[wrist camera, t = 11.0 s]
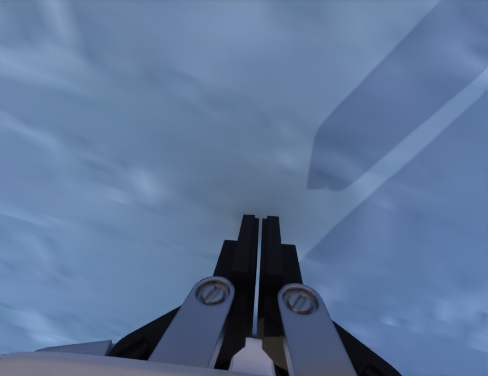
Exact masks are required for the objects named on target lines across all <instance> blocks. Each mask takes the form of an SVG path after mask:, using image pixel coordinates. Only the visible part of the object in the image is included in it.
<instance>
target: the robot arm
mask: <svg viewBox="0 0 488 376" xmlns="http://www.w3.org/2000/svg"><path fill="white" fill-rule="evenodd" d="M258 230H259V218H255V215H246V214H244V215H243V219H242V223H241V228H240V232H239V237H238V241H235V240H225V241H224V243H223V246H222V250H221V253H220V256H219V259H218V262H217V265H216V268H215V271H214V274H213V276H211V277H207V278H204V279H202V280H200V281H199V282H197V283H196V284H195V286H194V287H193V288H192V290H191V291H190V293H189V295H188V296H187V298H186V299H185V301H184V303H183V304H182V305H181V306H179V307H178V308H176V309H174V310H172V311H170V312H169V313H167V314H165V315H163V316H161V317H159V318H158V319H156V320H154V321H152V322H150V323H148V324H147V325H145V326H143V327H141V328H139V329H138V330H136V331H134V332H132V333H130V334H128V335H127V336H125V337H124V338H122V339H121V340H119V341H118V342H117V343H115V344H112V341H111V340H106V341H98V342H89V343H81V344H72V345H63V346H55V347H47V348H43V349H39V350H36V351H34V352H16V353H9V354H2V355H0V376H267V375H259V374H251V373H243V372H235V371H231V370H232V367H233V363H234V355H235V354H237V353H238V352H239V351H240V350H242V349H243V348H244V347H245V345H246V337H248V338H252V327H253V313H254V299H255V285H256V271H257V251H258ZM256 338H257V339H262V350H263V351H264V352H265V353H266V354H267V355H268V356H269V358H270V359H271V360H272V374H273V376H402V375H401V374H400V373H399V372H398V371H397V370H396V369H394V368H393V367H392V366H391V365H390V364H389V363H387V362H386V361H385V360H383V359H382V358H381V357H379V356H378V355H377V354H376V353H374V352H373V351H372V350H370V349H369V348H368V347H366V346H365V345H364V344H363V343H361V342H360V341H359V340H357V339H356V338H355V337H353V336H352V335H351V334H350V333H348V332H347V331H346V330H344V329H343V328H342V327H340V326H339V325H338V324H336V323H335V322H334V321H333V320H331V317H330V315H329V313H328V311H327V309H326V307H325V304H324V302H323V300H322V298H321V297H320V295H319V294H318V293H317V292H316V291H315V290H314V289H312V288H310V287H309V286H307V285H303V282H302V277H301V272H300V267H299V262H298V257H297V251H296V247H295V245H289V244H281V236H280V225H279V217H277V216H267V219H263V221H262V240H261V258H260V277H259V297H258V317H257V337H256Z"/></svg>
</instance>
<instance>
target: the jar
mask: <svg viewBox="0 0 488 376" xmlns="http://www.w3.org/2000/svg"><path fill="white" fill-rule="evenodd" d="M231 371H235V372H243V373H251V374H259V375H267V376H273V374H272V360H271V359H270V358H269V356H268V355H267V354H266V353H265V352H264V351H263V350H262V340H260V339H255V338H248V337H246V345H245V347H244V348H243V349H242V350H240V351H239V352H238V353H237V354H235V355H234V363H233V367H232V370H231Z"/></svg>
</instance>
